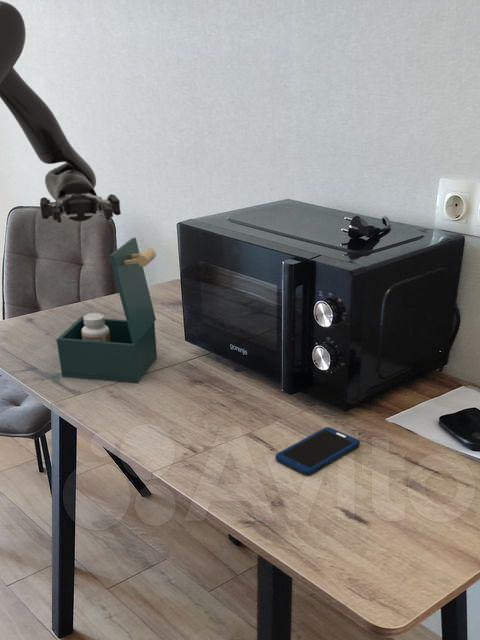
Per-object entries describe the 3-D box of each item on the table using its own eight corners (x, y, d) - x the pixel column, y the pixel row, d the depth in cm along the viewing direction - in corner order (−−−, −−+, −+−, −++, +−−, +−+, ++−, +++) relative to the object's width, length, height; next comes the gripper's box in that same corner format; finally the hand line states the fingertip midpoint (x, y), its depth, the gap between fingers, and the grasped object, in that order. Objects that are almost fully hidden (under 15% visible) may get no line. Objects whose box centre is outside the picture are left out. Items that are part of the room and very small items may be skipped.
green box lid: (108, 255, 124) (137, 252, 123) (131, 237, 134) (158, 234, 133) (132, 343, 132) (159, 340, 131) (152, 320, 143) (177, 317, 142)
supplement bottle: (102, 355, 146) (97, 309, 141) (118, 362, 143) (113, 316, 137) (80, 362, 143) (74, 316, 137) (95, 370, 139) (90, 323, 134)
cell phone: (361, 444, 118) (361, 440, 117) (307, 476, 109) (308, 472, 109) (327, 429, 122) (327, 425, 122) (273, 459, 113) (273, 455, 113)
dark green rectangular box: (62, 376, 139) (56, 339, 134) (86, 352, 149) (81, 316, 145) (138, 383, 137) (134, 345, 132) (157, 357, 147) (154, 322, 143)
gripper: (35, 177, 134) (38, 195, 121) (111, 174, 138) (121, 191, 125) (42, 218, 138) (45, 239, 125) (115, 214, 142) (125, 234, 129)
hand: (83, 215), depth 125 cm, fingers open, 8 cm apart
